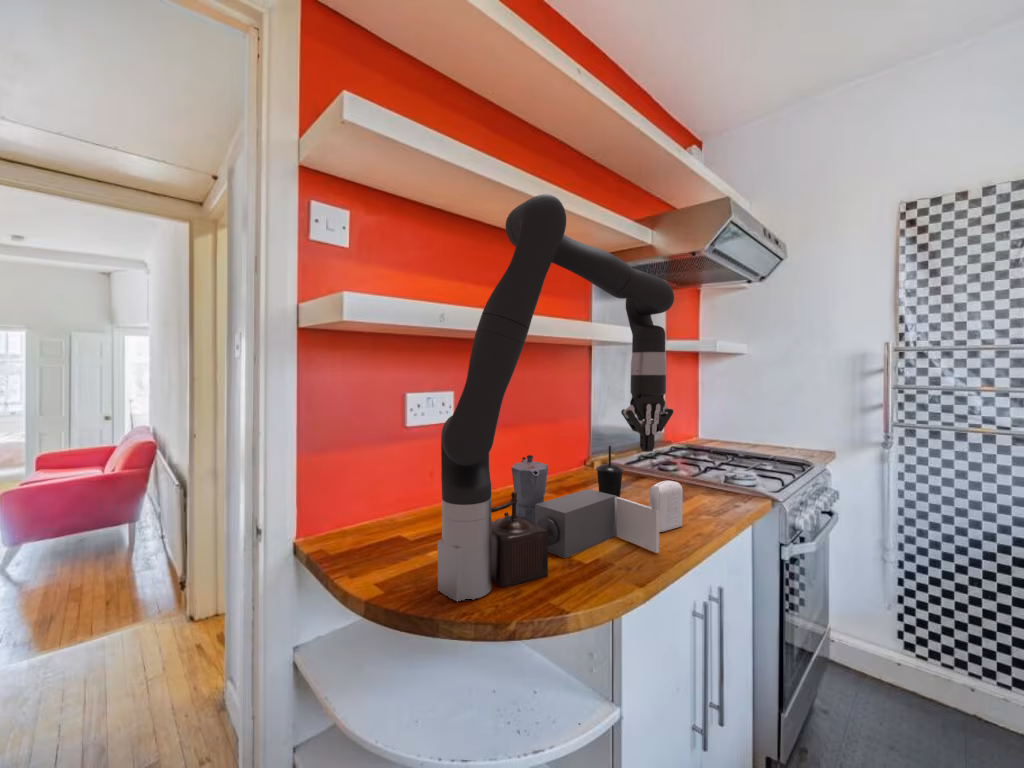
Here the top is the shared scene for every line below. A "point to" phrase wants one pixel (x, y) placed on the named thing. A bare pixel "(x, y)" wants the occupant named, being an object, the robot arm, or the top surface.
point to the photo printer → (669, 505)
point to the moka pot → (529, 486)
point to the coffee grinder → (517, 548)
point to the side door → (638, 521)
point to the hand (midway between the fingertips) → (647, 451)
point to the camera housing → (577, 521)
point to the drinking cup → (609, 477)
